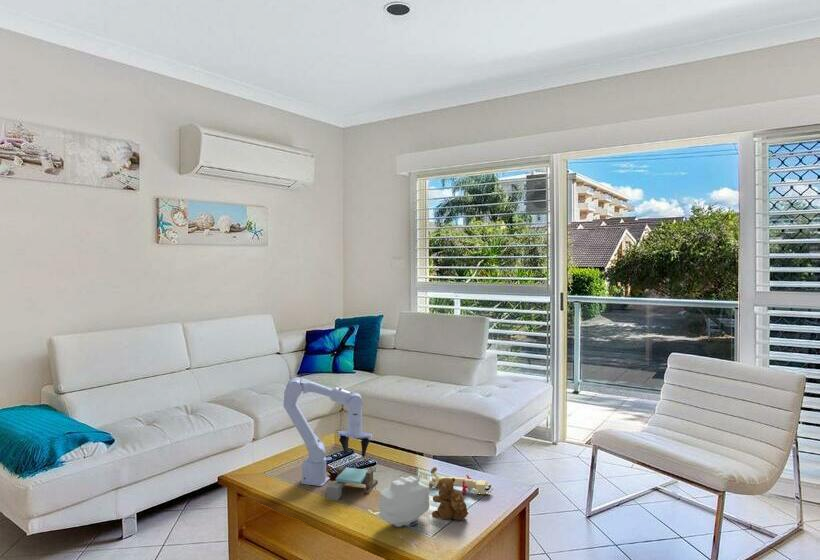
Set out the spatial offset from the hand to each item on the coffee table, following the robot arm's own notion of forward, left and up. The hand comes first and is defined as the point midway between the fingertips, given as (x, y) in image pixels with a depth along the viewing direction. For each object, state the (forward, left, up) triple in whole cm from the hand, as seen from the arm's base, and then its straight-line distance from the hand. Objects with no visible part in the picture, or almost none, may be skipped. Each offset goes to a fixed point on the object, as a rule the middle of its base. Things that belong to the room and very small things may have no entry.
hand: (354, 455), depth 214 cm
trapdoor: (+3, -9, -8) cm, 13 cm away
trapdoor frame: (+3, -5, -10) cm, 12 cm away
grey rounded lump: (+29, -28, -11) cm, 42 cm away
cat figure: (+44, +3, -11) cm, 45 cm away
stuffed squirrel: (+44, -19, -11) cm, 49 cm away
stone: (-2, -17, -11) cm, 20 cm away
